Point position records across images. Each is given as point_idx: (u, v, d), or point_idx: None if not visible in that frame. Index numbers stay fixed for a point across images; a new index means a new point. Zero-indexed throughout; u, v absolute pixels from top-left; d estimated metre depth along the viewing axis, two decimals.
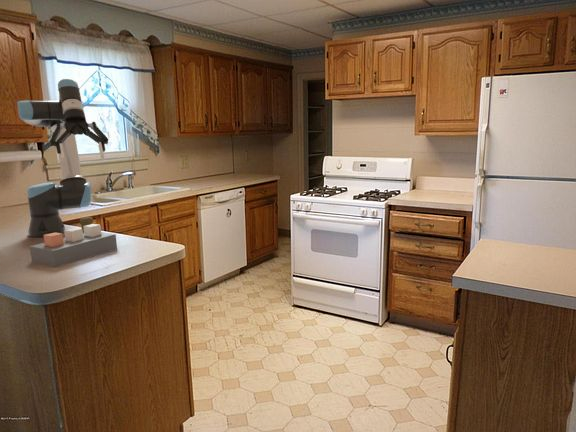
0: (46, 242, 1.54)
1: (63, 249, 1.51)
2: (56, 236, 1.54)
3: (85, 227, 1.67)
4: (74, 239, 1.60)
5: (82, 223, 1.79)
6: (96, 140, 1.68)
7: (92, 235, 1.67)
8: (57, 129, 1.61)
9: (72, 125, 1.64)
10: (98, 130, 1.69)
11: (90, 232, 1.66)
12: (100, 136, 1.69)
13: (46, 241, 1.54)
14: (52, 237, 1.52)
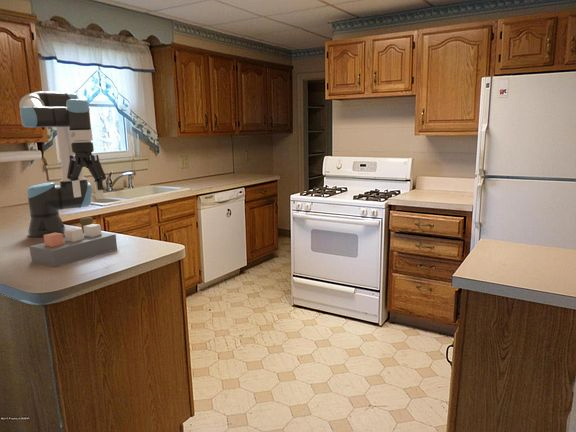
0: (46, 242, 1.54)
1: (63, 249, 1.51)
2: (56, 236, 1.54)
3: (85, 227, 1.67)
4: (74, 239, 1.60)
5: (82, 223, 1.79)
6: None
7: (92, 235, 1.67)
8: (70, 164, 1.66)
9: (76, 160, 1.63)
10: (94, 166, 1.60)
11: (90, 232, 1.66)
12: None
13: (46, 241, 1.54)
14: (52, 237, 1.52)
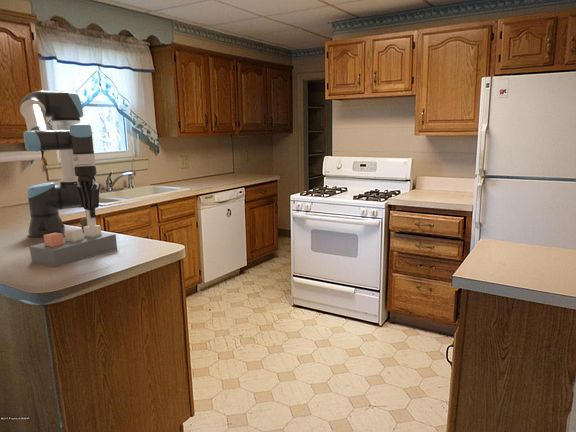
0: (46, 242, 1.54)
1: (63, 249, 1.51)
2: (56, 236, 1.54)
3: (85, 228, 1.67)
4: (74, 239, 1.60)
5: (82, 223, 1.79)
6: None
7: (92, 236, 1.67)
8: (77, 191, 1.67)
9: (80, 184, 1.64)
10: (92, 194, 1.63)
11: (90, 233, 1.66)
12: None
13: (46, 241, 1.54)
14: (52, 237, 1.52)
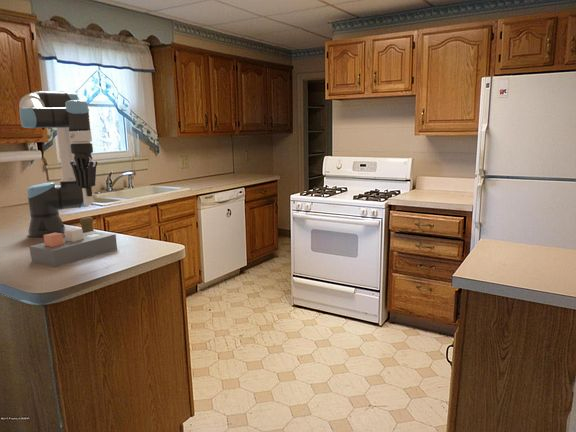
0: (46, 242, 1.54)
1: (63, 249, 1.51)
2: (56, 236, 1.54)
3: None
4: (74, 239, 1.60)
5: (82, 223, 1.79)
6: None
7: None
8: (74, 169, 1.65)
9: (77, 162, 1.62)
10: (89, 172, 1.61)
11: None
12: None
13: (46, 241, 1.54)
14: (52, 237, 1.52)
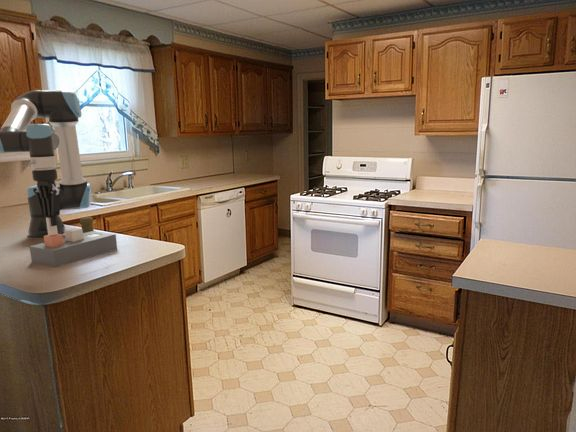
0: (46, 243, 1.54)
1: (63, 249, 1.51)
2: (56, 237, 1.54)
3: None
4: (74, 239, 1.60)
5: (82, 223, 1.79)
6: None
7: None
8: (37, 197, 1.53)
9: (39, 189, 1.50)
10: (52, 201, 1.49)
11: None
12: None
13: (46, 242, 1.54)
14: (52, 238, 1.52)
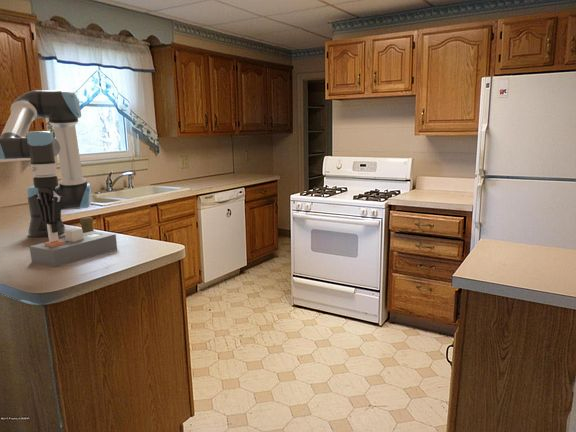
0: None
1: (63, 249, 1.51)
2: (57, 244, 1.54)
3: None
4: (74, 239, 1.60)
5: (82, 223, 1.79)
6: None
7: None
8: (38, 204, 1.54)
9: (40, 196, 1.51)
10: (53, 208, 1.50)
11: None
12: None
13: None
14: (53, 245, 1.53)
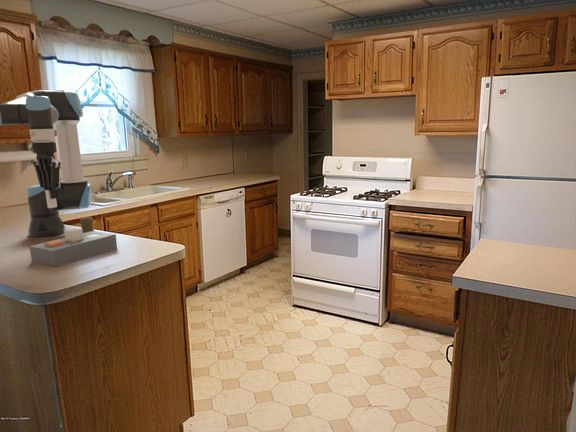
0: None
1: (63, 249, 1.51)
2: (57, 244, 1.54)
3: None
4: (74, 239, 1.60)
5: (82, 223, 1.79)
6: None
7: None
8: (36, 170, 1.54)
9: (39, 162, 1.51)
10: (51, 173, 1.50)
11: None
12: None
13: None
14: (53, 245, 1.53)
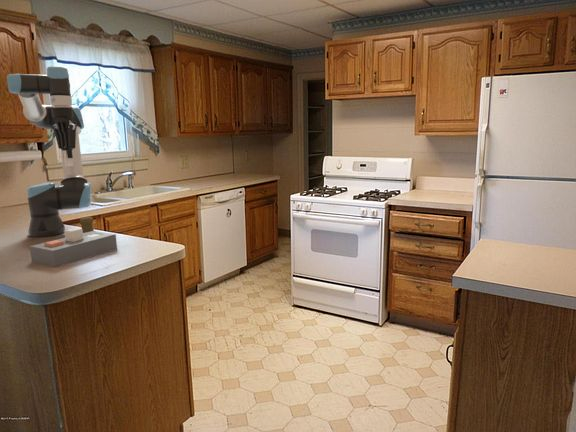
0: None
1: (63, 249, 1.51)
2: (57, 244, 1.54)
3: None
4: (74, 239, 1.60)
5: (82, 223, 1.79)
6: None
7: None
8: (55, 133, 1.75)
9: (58, 125, 1.72)
10: (69, 135, 1.71)
11: None
12: None
13: None
14: (53, 245, 1.53)
